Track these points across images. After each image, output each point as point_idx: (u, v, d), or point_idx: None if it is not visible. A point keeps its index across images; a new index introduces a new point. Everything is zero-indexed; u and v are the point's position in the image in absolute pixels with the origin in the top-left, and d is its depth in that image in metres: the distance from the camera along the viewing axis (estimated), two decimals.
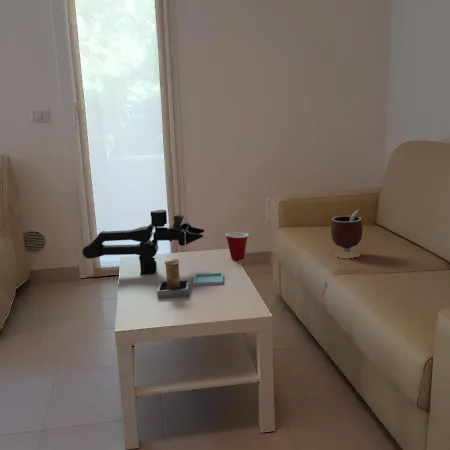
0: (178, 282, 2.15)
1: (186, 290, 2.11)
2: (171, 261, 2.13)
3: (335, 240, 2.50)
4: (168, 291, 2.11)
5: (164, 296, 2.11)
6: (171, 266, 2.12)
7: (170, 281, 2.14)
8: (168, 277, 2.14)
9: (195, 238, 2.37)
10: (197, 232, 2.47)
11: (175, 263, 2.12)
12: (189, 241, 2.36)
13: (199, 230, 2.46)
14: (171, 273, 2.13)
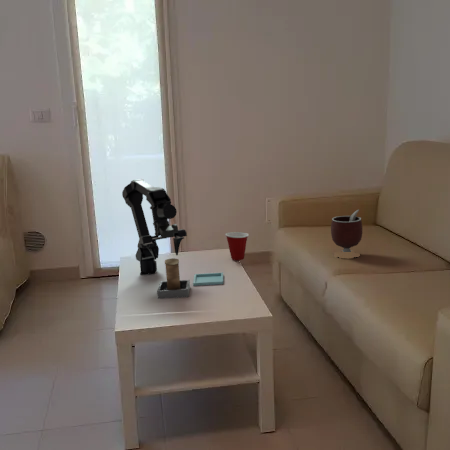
0: (178, 282, 2.15)
1: (186, 290, 2.11)
2: (171, 261, 2.13)
3: (335, 240, 2.50)
4: (168, 291, 2.11)
5: (164, 296, 2.11)
6: (171, 266, 2.12)
7: (170, 281, 2.14)
8: (168, 277, 2.14)
9: (151, 252, 2.26)
10: (175, 248, 2.30)
11: (175, 263, 2.12)
12: (147, 246, 2.26)
13: (176, 250, 2.29)
14: (171, 273, 2.13)
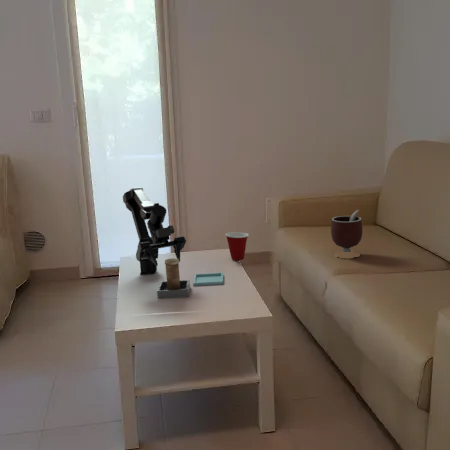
0: (178, 282, 2.15)
1: (186, 290, 2.11)
2: (171, 261, 2.13)
3: (335, 240, 2.50)
4: (168, 291, 2.11)
5: (164, 296, 2.11)
6: (171, 266, 2.12)
7: (170, 281, 2.14)
8: (168, 277, 2.14)
9: (151, 260, 2.18)
10: (176, 256, 2.22)
11: (175, 263, 2.12)
12: (147, 256, 2.20)
13: (177, 257, 2.21)
14: (171, 273, 2.13)
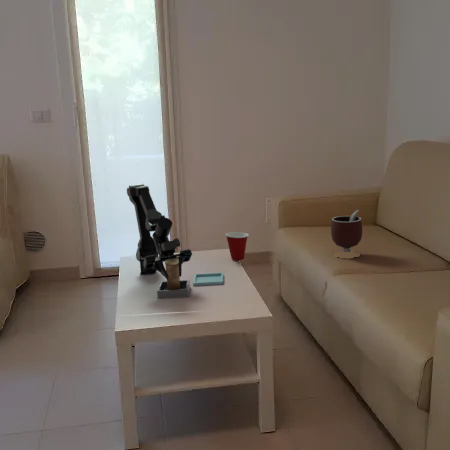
0: (178, 282, 2.15)
1: (186, 290, 2.11)
2: (171, 261, 2.13)
3: (335, 240, 2.50)
4: (168, 291, 2.11)
5: (164, 296, 2.11)
6: (171, 266, 2.12)
7: (170, 281, 2.14)
8: (168, 277, 2.14)
9: (162, 273, 2.15)
10: None
11: (175, 263, 2.12)
12: (157, 269, 2.17)
13: (179, 271, 2.16)
14: (171, 273, 2.13)
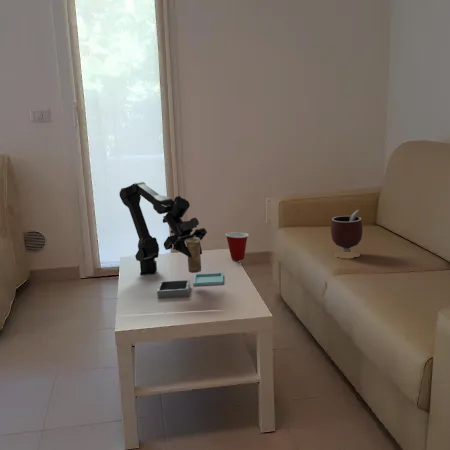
0: (200, 260, 2.20)
1: (186, 290, 2.11)
2: (193, 239, 2.18)
3: (335, 240, 2.50)
4: (168, 291, 2.11)
5: (164, 296, 2.11)
6: (194, 244, 2.17)
7: (193, 259, 2.18)
8: None
9: (184, 252, 2.18)
10: None
11: (198, 241, 2.18)
12: (178, 249, 2.20)
13: None
14: (194, 251, 2.18)
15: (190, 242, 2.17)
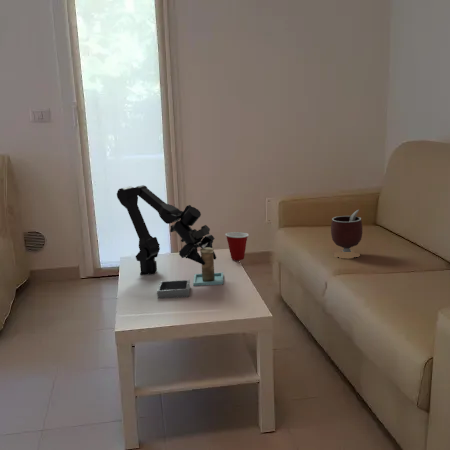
0: (213, 269, 2.28)
1: (186, 290, 2.11)
2: (208, 250, 2.25)
3: (335, 240, 2.50)
4: (168, 291, 2.11)
5: (164, 296, 2.11)
6: (210, 254, 2.25)
7: (208, 269, 2.26)
8: (206, 265, 2.25)
9: (197, 260, 2.24)
10: None
11: (213, 251, 2.25)
12: (190, 257, 2.24)
13: None
14: (210, 261, 2.25)
15: (206, 253, 2.24)
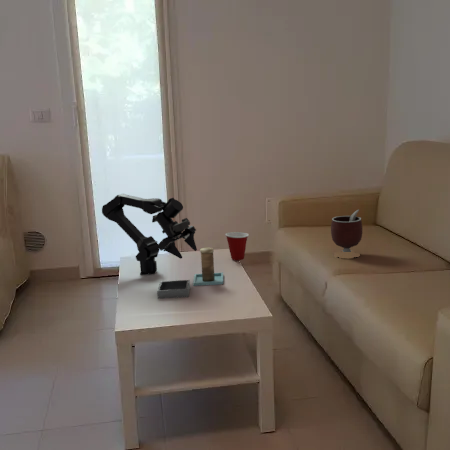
0: (213, 269, 2.29)
1: (186, 290, 2.11)
2: (208, 250, 2.26)
3: (335, 240, 2.50)
4: (168, 291, 2.11)
5: (164, 296, 2.11)
6: (210, 254, 2.25)
7: (208, 269, 2.26)
8: (206, 265, 2.26)
9: (174, 253, 2.29)
10: (191, 245, 2.37)
11: (213, 251, 2.26)
12: (168, 250, 2.30)
13: (193, 246, 2.36)
14: (210, 261, 2.26)
15: (206, 252, 2.24)
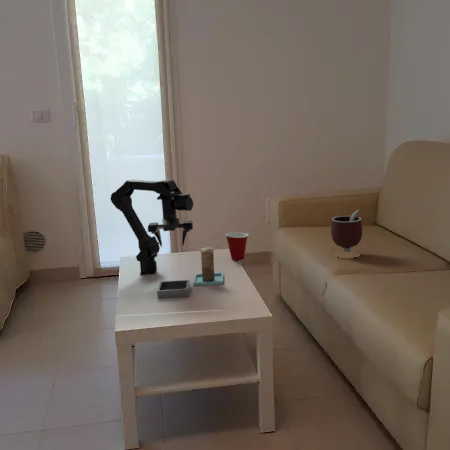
0: None
1: (186, 290, 2.11)
2: (209, 249, 2.26)
3: (335, 240, 2.50)
4: (168, 291, 2.11)
5: (164, 296, 2.11)
6: (210, 254, 2.25)
7: (208, 269, 2.26)
8: (207, 265, 2.26)
9: None
10: None
11: (213, 251, 2.26)
12: None
13: (182, 240, 2.37)
14: (210, 261, 2.26)
15: (206, 252, 2.24)
